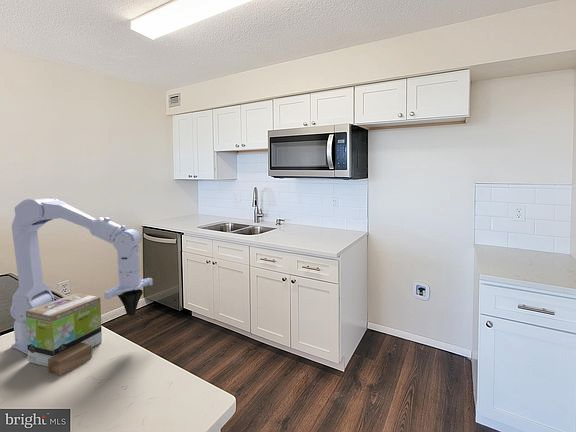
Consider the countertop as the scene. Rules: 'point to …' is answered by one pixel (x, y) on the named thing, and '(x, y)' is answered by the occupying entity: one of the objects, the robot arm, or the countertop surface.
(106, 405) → the countertop surface
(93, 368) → the countertop surface
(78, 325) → the tea box
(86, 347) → the walnut bar
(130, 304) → the robot arm
